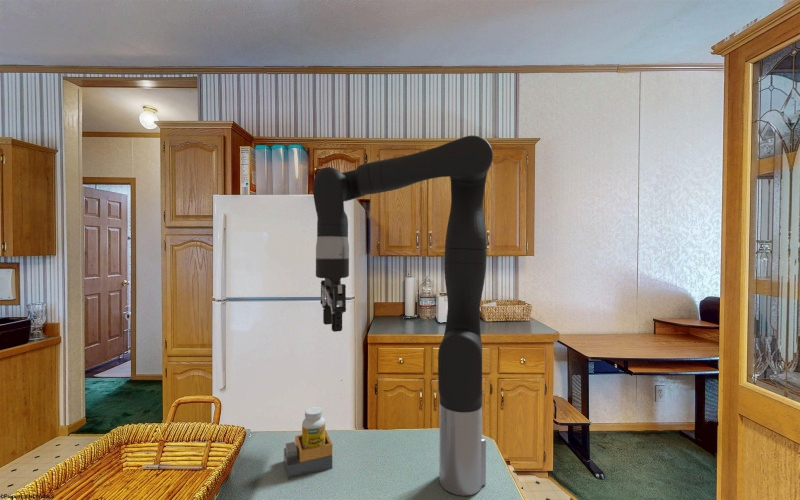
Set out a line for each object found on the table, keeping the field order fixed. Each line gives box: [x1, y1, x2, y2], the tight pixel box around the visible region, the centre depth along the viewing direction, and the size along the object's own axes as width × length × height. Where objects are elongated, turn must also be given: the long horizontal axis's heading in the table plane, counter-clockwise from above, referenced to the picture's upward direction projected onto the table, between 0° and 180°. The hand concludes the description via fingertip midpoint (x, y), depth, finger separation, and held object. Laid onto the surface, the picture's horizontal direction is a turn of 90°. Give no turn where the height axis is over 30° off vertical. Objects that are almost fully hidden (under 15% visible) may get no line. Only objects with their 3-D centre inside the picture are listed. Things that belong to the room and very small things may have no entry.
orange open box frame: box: [283, 429, 333, 480], centre depth 84 cm, size 10×8×6 cm
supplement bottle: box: [301, 406, 326, 449], centre depth 85 cm, size 5×5×10 cm
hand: (332, 327), depth 82 cm, fingers open, 8 cm apart
